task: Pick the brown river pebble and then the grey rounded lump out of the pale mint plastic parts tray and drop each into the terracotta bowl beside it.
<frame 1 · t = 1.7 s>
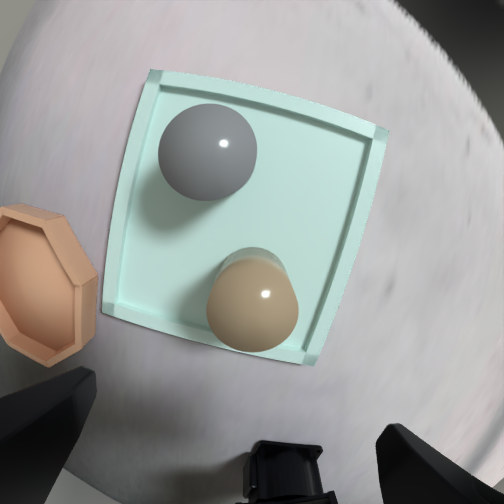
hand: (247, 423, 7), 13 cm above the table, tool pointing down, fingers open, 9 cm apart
dish: (37, 283, 20), on the table
parts tray: (236, 220, 19), on the table
river pebble: (252, 281, 19), point 1 cm above the table, touching parts tray
grey rounded lump: (218, 159, 18), point 1 cm above the table, touching parts tray
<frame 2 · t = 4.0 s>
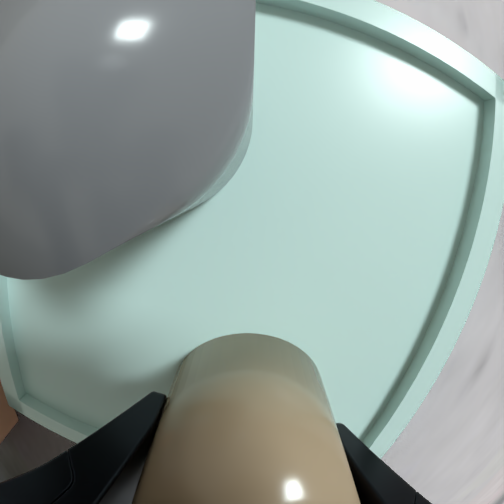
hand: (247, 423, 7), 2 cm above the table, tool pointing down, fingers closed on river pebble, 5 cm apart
parts tray: (207, 270, 8), on the table
river pebble: (247, 395, 8), point 1 cm above the table, touching gripper, parts tray
grey rounded lump: (159, 124, 7), point 1 cm above the table, touching parts tray
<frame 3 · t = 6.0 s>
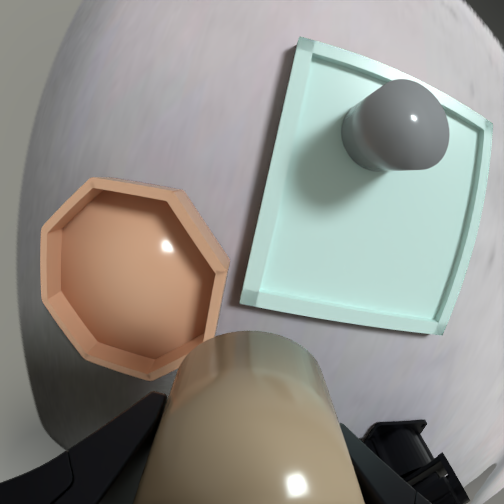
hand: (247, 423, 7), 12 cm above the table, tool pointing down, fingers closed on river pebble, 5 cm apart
dish: (131, 277, 19), on the table
parts tray: (387, 196, 18), on the table
river pebble: (249, 394, 8), point 11 cm above the table, touching gripper
grey rounded lump: (375, 136, 16), point 1 cm above the table, touching parts tray
when the fingers open (3 cm above the table, at t = 8.3 s): river pebble drops 1 cm, resting on dish.
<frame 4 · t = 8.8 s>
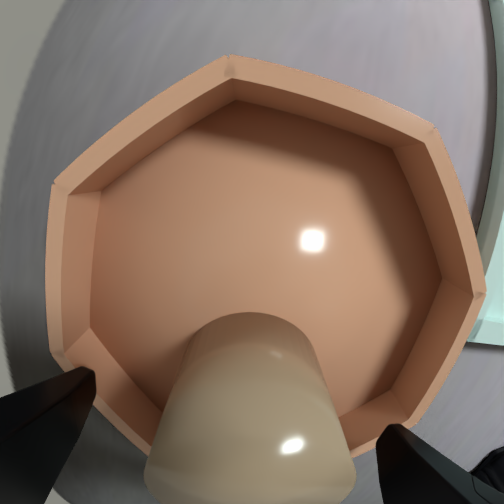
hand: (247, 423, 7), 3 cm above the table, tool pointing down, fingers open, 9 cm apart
dish: (265, 303, 10), on the table
river pebble: (249, 371, 10), point 1 cm above the table, touching dish
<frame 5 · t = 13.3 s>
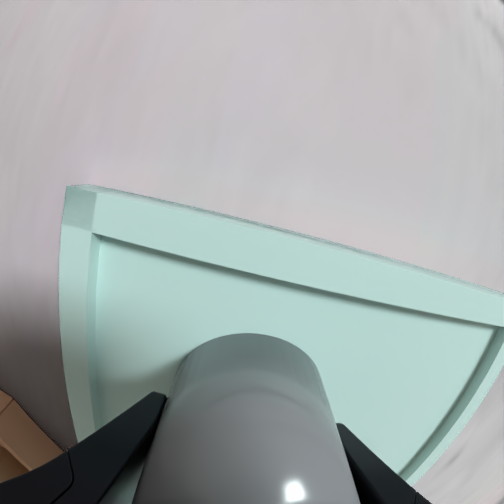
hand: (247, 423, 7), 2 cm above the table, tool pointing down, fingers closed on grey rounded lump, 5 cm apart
dish: (9, 443, 11), on the table
parts tray: (275, 452, 10), on the table
river pebble: (16, 466, 11), point 1 cm above the table, touching dish
grey rounded lump: (247, 395, 8), point 1 cm above the table, touching gripper, parts tray
when the fingers open (3 cm above the table, at t = 17.4 s): grey rounded lump drops 1 cm, resting on dish.
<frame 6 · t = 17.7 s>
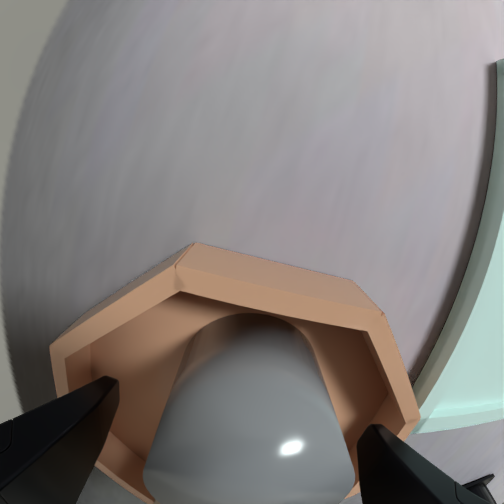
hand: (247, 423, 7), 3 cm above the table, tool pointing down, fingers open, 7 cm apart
dish: (232, 410, 11), on the table
grey rounded lump: (249, 372, 10), point 1 cm above the table, touching dish
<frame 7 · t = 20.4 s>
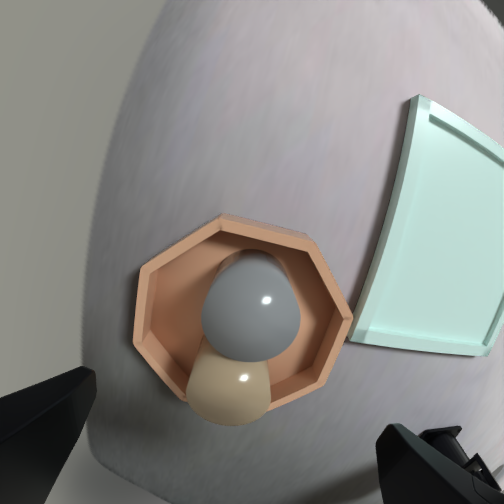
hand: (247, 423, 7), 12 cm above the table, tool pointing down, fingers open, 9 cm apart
dish: (240, 317, 19), on the table
parts tray: (466, 245, 18), on the table
river pebble: (233, 351, 19), point 1 cm above the table, touching dish
grey rounded lump: (250, 285, 18), point 1 cm above the table, touching dish
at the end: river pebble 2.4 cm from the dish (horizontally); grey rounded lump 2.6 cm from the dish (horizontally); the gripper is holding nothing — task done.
